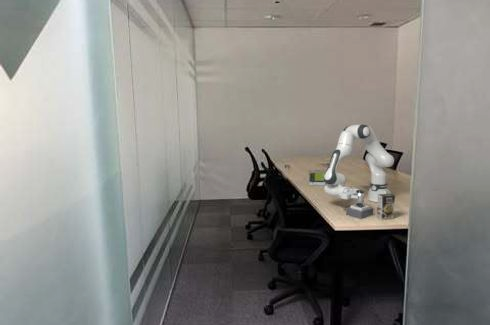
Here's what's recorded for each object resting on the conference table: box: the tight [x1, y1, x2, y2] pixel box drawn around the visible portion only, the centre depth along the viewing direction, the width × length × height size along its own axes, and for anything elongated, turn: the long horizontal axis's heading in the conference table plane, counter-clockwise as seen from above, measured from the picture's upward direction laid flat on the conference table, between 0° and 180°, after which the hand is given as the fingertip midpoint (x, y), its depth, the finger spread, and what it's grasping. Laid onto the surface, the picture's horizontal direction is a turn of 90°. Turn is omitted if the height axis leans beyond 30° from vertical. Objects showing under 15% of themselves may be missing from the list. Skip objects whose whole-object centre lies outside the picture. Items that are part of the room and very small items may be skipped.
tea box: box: [308, 169, 326, 186], centre depth 334 cm, size 15×10×15 cm, turn 84°
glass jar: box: [355, 189, 365, 206], centre depth 232 cm, size 5×5×10 cm
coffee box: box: [376, 193, 396, 221], centre depth 225 cm, size 9×6×16 cm
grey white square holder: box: [345, 203, 374, 220], centre depth 234 cm, size 14×12×6 cm
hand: (361, 196), depth 231 cm, fingers closed on glass jar, 5 cm apart
